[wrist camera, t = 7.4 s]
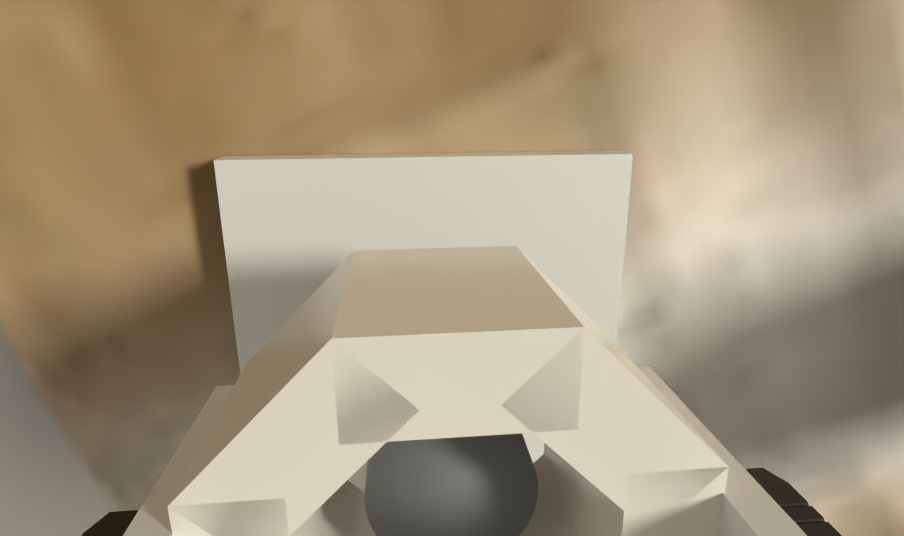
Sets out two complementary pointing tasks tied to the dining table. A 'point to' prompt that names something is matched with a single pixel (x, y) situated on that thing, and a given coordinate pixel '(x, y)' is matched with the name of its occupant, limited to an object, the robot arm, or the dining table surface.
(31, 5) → the dining table surface
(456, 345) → the collar
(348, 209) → the white square plate
